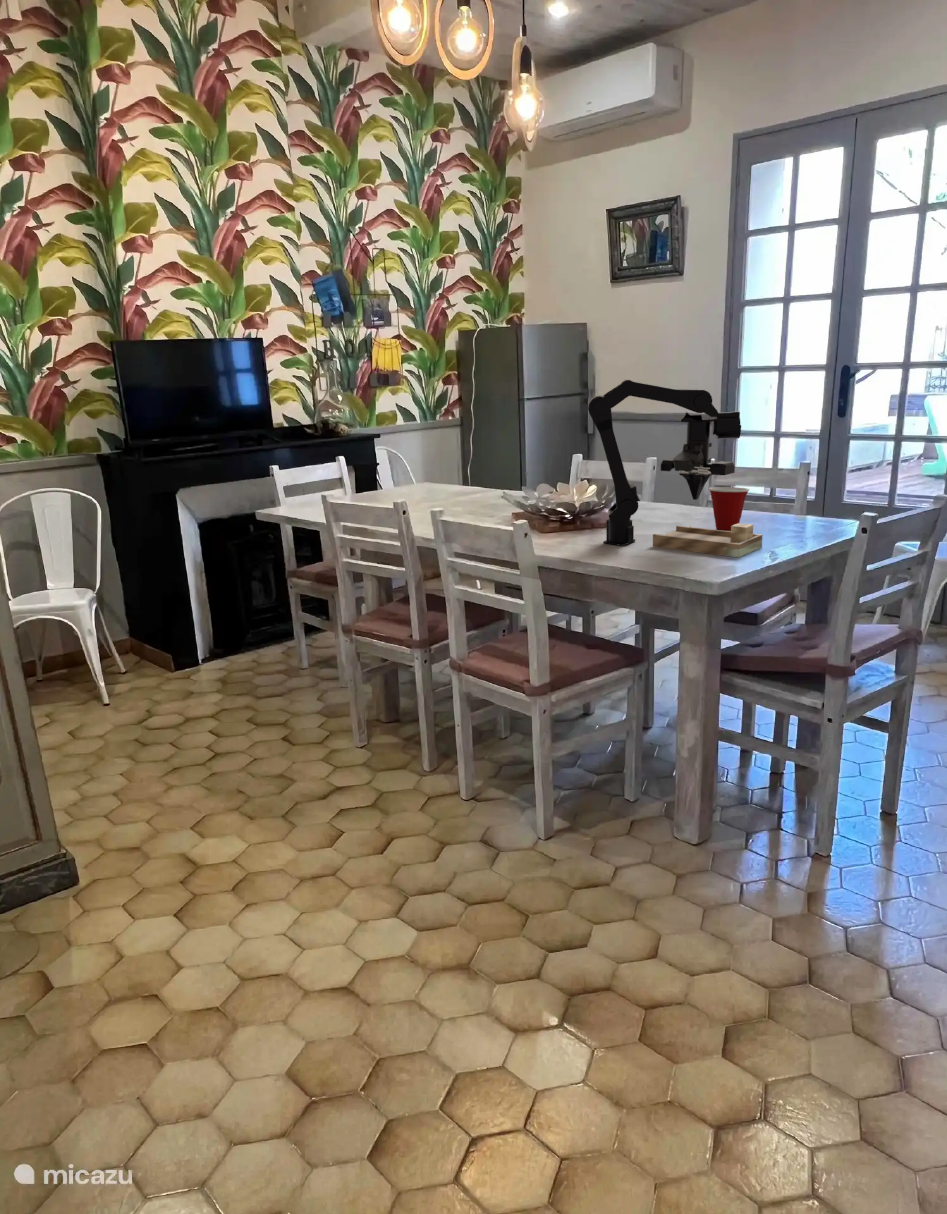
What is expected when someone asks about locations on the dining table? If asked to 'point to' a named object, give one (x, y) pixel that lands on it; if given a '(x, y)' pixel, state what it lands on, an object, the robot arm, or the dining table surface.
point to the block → (741, 532)
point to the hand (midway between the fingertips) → (695, 499)
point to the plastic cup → (727, 506)
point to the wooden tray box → (706, 541)
